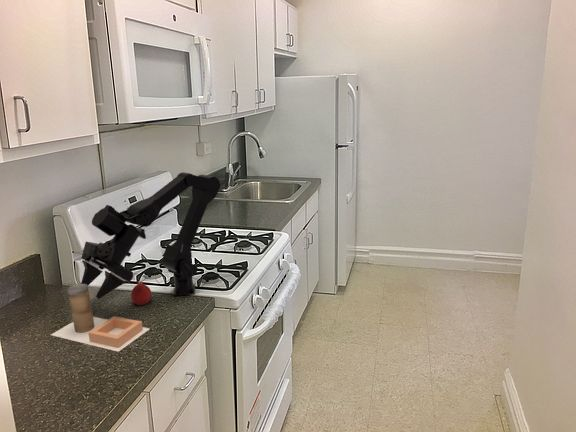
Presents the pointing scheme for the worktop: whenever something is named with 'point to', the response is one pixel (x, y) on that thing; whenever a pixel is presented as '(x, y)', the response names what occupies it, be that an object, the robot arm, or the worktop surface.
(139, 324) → the socket
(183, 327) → the worktop surface
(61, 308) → the worktop surface
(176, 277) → the robot arm
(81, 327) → the gray-capped wooden tube
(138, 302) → the red oval fruit
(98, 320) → the mount board
